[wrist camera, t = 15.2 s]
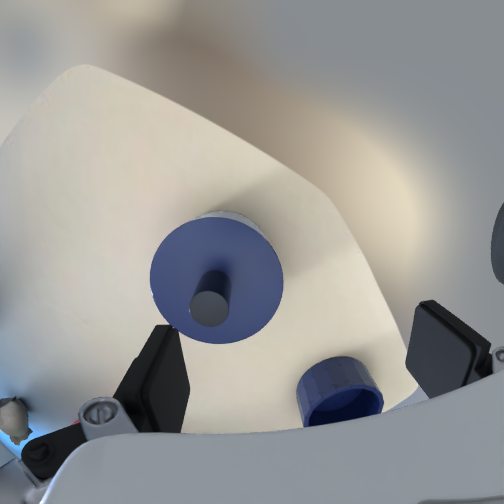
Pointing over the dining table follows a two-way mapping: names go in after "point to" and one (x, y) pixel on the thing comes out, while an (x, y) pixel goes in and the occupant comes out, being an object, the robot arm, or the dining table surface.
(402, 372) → the dining table surface
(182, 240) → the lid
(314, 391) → the blue cylindrical container
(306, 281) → the dining table surface
